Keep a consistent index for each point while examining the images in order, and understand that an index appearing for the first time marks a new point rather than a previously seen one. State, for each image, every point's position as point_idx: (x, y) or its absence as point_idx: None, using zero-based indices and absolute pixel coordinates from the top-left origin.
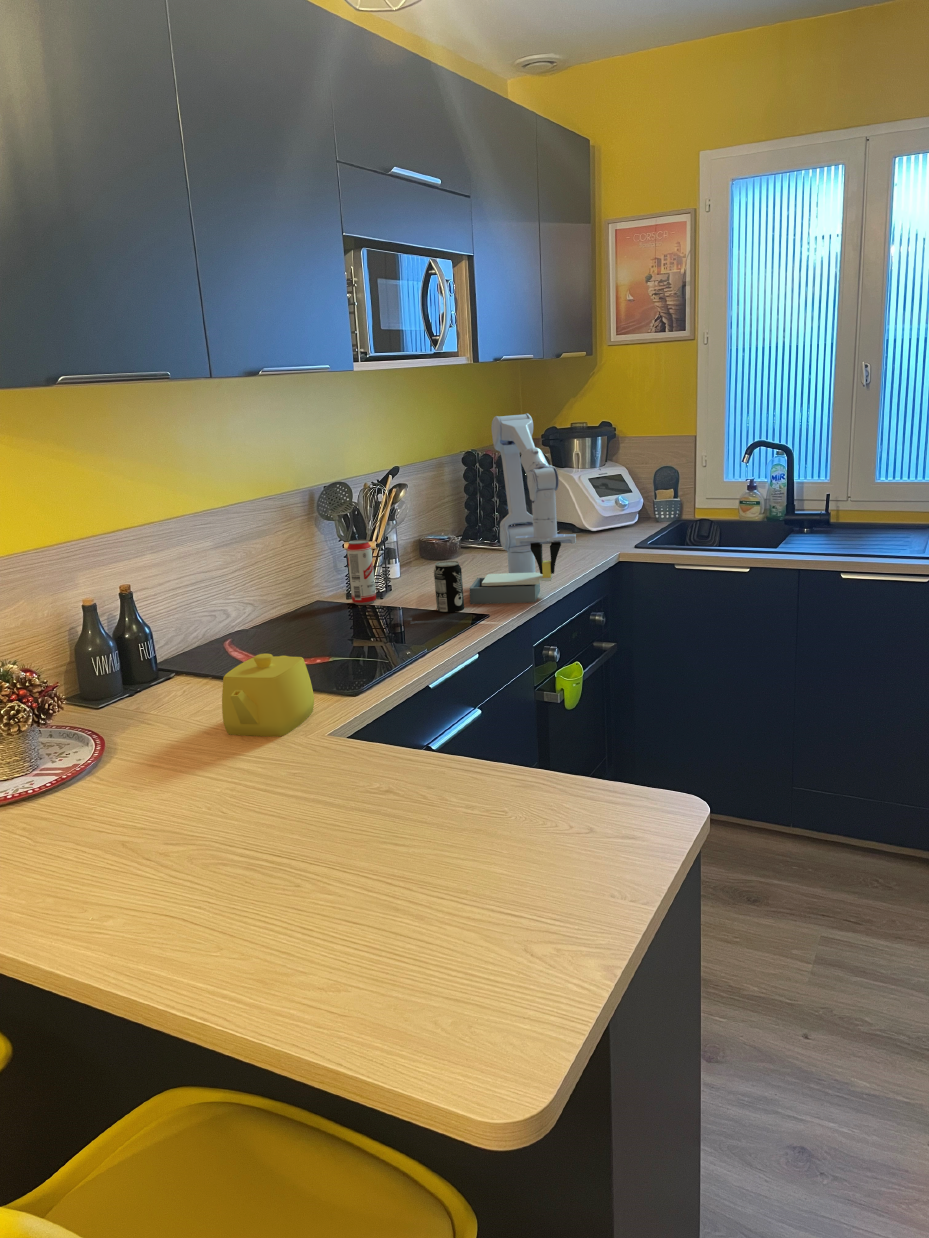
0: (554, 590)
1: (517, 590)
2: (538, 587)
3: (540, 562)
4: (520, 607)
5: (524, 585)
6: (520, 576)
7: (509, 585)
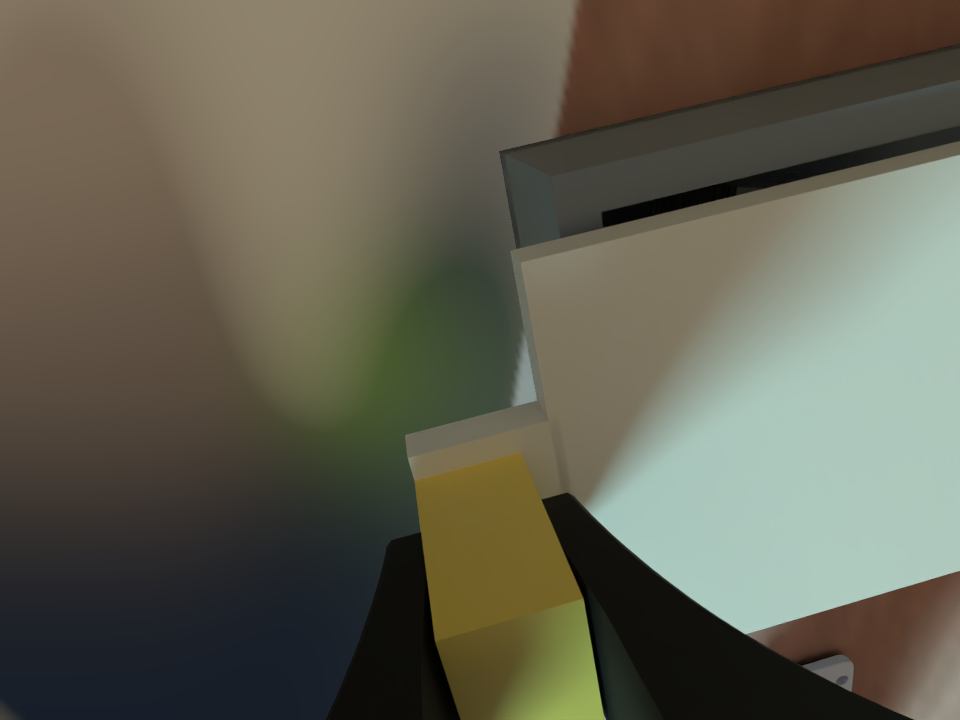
0: None
1: (755, 120)
2: None
3: (615, 598)
4: (629, 12)
5: None
6: (809, 470)
7: None
